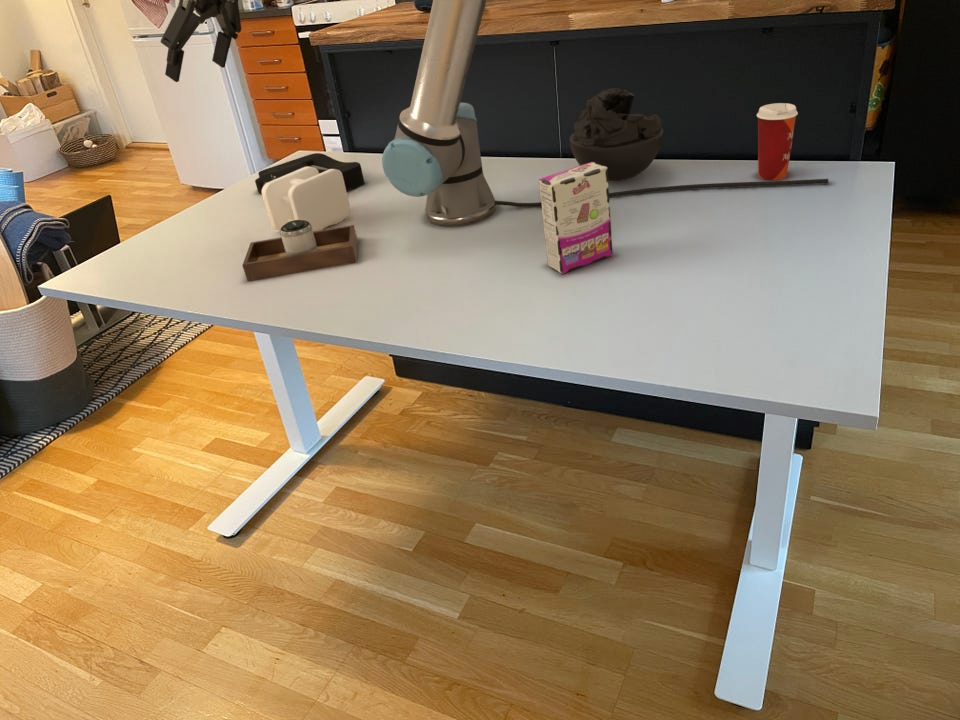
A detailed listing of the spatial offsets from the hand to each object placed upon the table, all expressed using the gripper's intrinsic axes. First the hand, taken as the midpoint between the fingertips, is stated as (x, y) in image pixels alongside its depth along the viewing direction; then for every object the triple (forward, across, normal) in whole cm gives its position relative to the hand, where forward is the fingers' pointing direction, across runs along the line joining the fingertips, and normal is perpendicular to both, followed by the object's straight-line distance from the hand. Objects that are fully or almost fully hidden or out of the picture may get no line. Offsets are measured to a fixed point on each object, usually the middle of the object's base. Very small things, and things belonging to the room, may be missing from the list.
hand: (195, 70), depth 151 cm
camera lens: (+16, +10, +40) cm, 44 cm away
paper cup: (-34, -41, +108) cm, 120 cm away
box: (+16, +10, +40) cm, 44 cm away
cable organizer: (+21, -6, +32) cm, 39 cm away
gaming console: (+29, -30, +18) cm, 46 cm away
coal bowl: (-15, -39, +82) cm, 92 cm away
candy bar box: (-16, +4, +86) cm, 87 cm away
